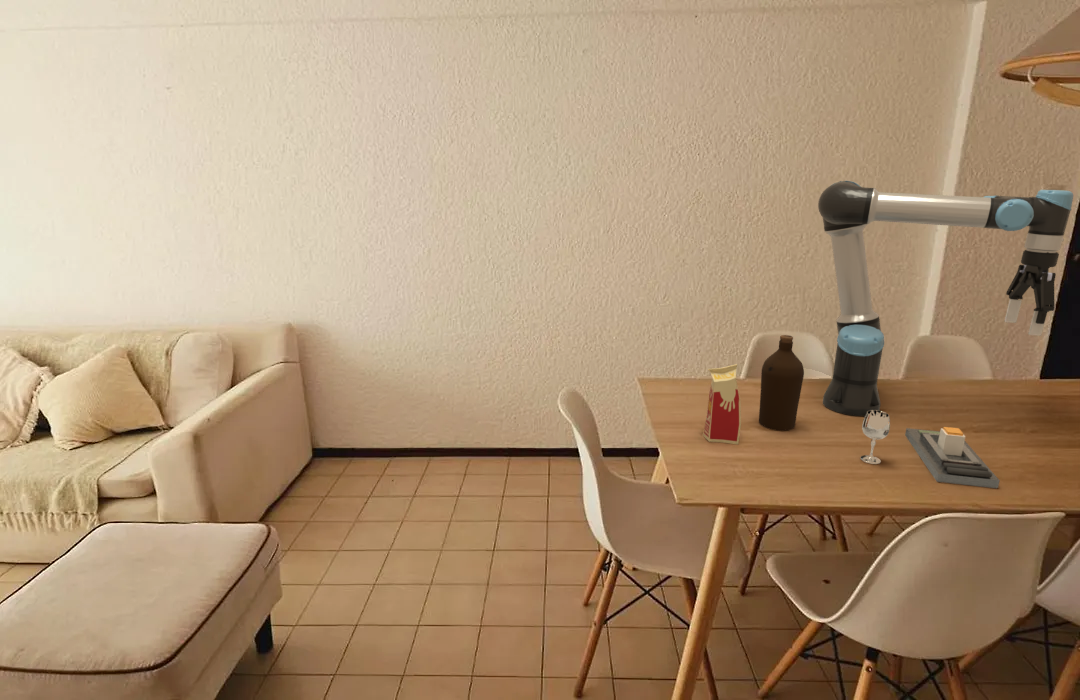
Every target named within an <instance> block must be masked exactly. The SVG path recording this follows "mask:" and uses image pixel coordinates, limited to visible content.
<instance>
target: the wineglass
mask: <svg viewBox="0 0 1080 700" xmlns="http://www.w3.org/2000/svg"><path fill="white" fill-rule="evenodd" d="M890 428H891V419H890V415H889V414H888V413H887V412H885V411H882V410H880V411H878V410H869V411H867V413H866V415H865V416H864V418H863V421H862V426H861V429H862V433H863V435H865V436H866V437H867V438H869V439H870V440H871V439H872V440H871V441H870V446H871V447H870V448H871V449H870V453H869V455H866V454H864V455H861V456H860V457H859V458H860V460H861V461H862V462H863V463H867V464H870V465H871V464H872V465H877V464H878V465H879V464H881V462H882V461H881V459H880V458H878V457H877V456H874V455H873V452H874V448H875V446H876V444H877V440H883V439H884V438H886V437H887V436H888V435H889V432H890Z"/></svg>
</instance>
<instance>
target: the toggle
mask: <svg viewBox="0 0 1080 700" xmlns="http://www.w3.org/2000/svg"><path fill="white" fill-rule="evenodd" d="M939 431H940V434H939V440H938V446H939V447H940V449H941V450H942V451H943V453H944V454H945V455H955V456H961V455H962V451H963V446H964V441H965V442H966V440H965V439H966V435H965V434H964V432H963V431H962V430H961V429H960V428H959V427H950V426H949V427H948V426H943V428H940V430H939Z"/></svg>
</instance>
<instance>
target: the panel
mask: <svg viewBox="0 0 1080 700" xmlns="http://www.w3.org/2000/svg"><path fill="white" fill-rule="evenodd" d="M904 434H905V437H906V439H907V441H908V442H909V443H910V445H911V446H912V447H913V449H914V451H915V452H916V454H917V455H918V456H919V457H920V459H921V460H922V462H923V464H924V465H925V466H926V468H927V469H928V471H929V472H930V475H932V477H933V478H934V480H935V481H936V482H938V483H945V484H947V483H948V484H954V485H964V486H972V487H981V488H990V489H991V488H992V489H997V488H998V489H999V485H1000V481H1001V480H1000V479H999V478H998V477H997V475H996V474H995V473H994V472H993V471H992V470H991V469H990V468H989V466H988V465H987V464H986V463H985V462H984V461H983V460H982V458H981V457H980V456H979V455H978V454H977V453H976V452H975V450H974V449H973V448H972V447H971V446H970V445H969V444H968V443H967V441H966V440H965V441H964V446H963V451H962V455H961V456H955V455H945V454H944V453H943V451H942V450H941V449H940V447H939V446H938V440H939V434H940V430H930V429H929V430H928V429H919V428H910V427H906V429H905V433H904ZM944 463H953V464H962V465H972V466H981V467H986V468H988V471H989V472H991V473H992V477H990V478H986V477H977V476H968V475H959V474H950V473H947V471H946V469H944V468H943V464H944Z"/></svg>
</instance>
